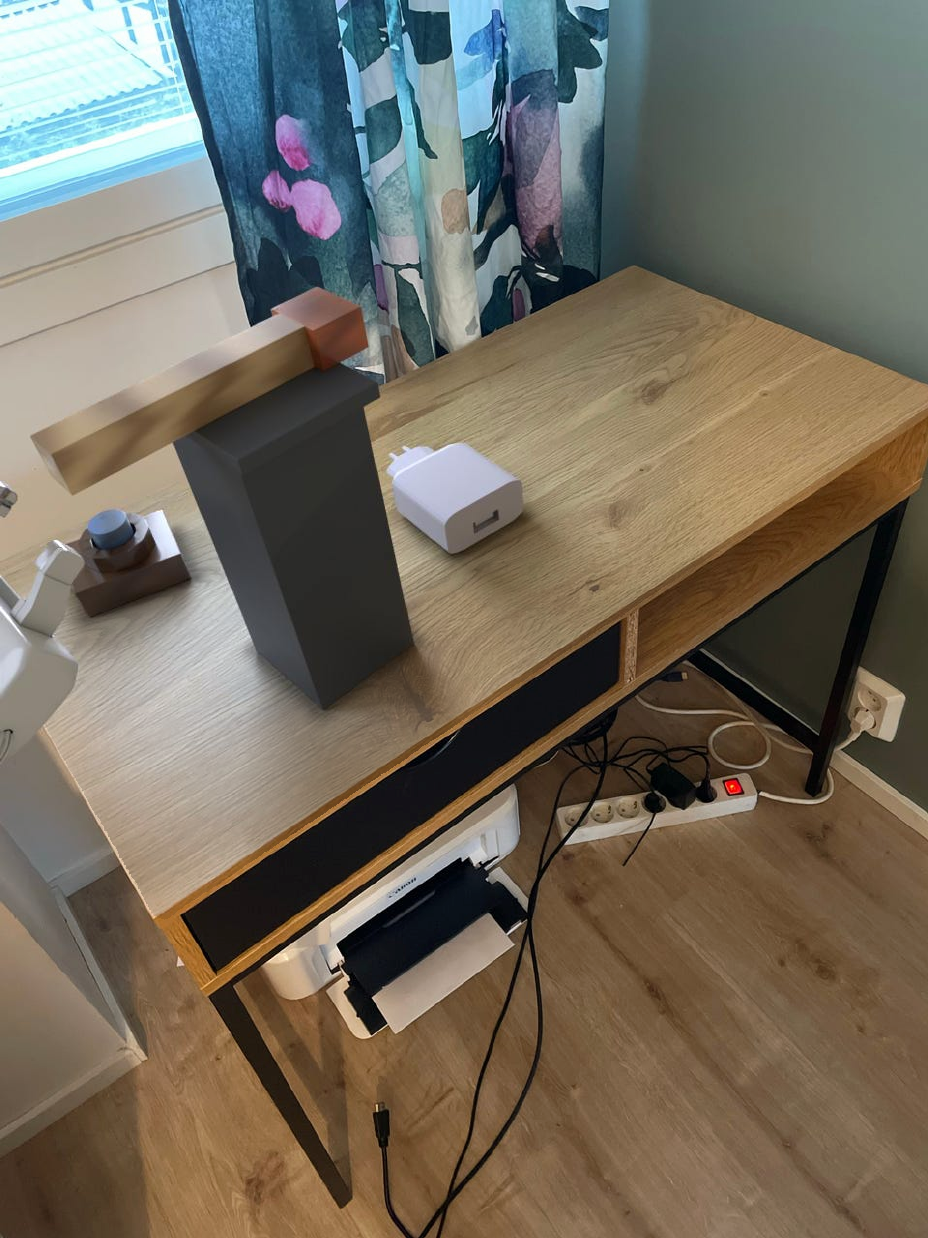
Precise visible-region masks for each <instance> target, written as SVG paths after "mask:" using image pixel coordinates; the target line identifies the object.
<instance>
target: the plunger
mask: <svg viewBox="0 0 928 1238" xmlns="http://www.w3.org/2000/svg"><path fill="white" fill-rule="evenodd" d="M125 513H126V512H124V511H122V510H121V509H114V508H113V509H107V510H103V511H101V512H98V513H97V514H95V515H94V516H93V517H91V518H90V520H89V521H88V523H87V528H88V531H89V533H90V535H91V536H92V538H93V540H94V542H95V544H96V546H97V547H98V548H99V549H101V550H112V549H115V548H117V547H120V546H123V545H124V544H126V543H127V542H128V541H129V540H131V539H132V538H133V535H134V531H133V529H132V527H131V525H130V523H129V521H128V519H127V517H126V514H125ZM87 528H86V529H87Z"/></svg>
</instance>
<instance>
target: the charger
mask: <svg viewBox="0 0 928 1238" xmlns="http://www.w3.org/2000/svg"><path fill="white" fill-rule="evenodd" d="M401 449H402V450H403V451H404V452H403V453H401V454H400V455H398V456H397V455H396V454H395V453H394V452H389V454H388V457H390V459H391V460H393V461H392V462H391V463H390V464H389V466H388V467H387V469H386V471H385V472H386V474H387V475H389V476H391V478H393V479H392V481H391V488H392V493H393V499H394V503H395V508H396V511H397V512H398V513H399V514H401V515H402V516H403V517H404V518H405V519H407V520H408V521H409V522H410V523H411V524H413V525H414V526H415V527H416V528H418V529H419V530H420V531H421V532H422V533H424V534H425V535H426V536H428V538H430V539H431V540H432V541H434V542H435V543H436V544H438V545H439V546H440V547H441V548H442V549H444V550H445V551H446V552H447V553H448V554H451V555H453V554H454V555H455V554H457V553H460V552H462V551H464V550H466V549H467V548H470V547H471V546H473V545H474V544H477V543H478V542H480V541H481V540H483V539H484V538H486V537H488V536H489V535H492V534H493V533H495V532H497V531H498V530H500V529H501V528H504V527H505V526H507V525H508V524H510V523H512V522H513V521H515V520H516V519H517V518H518V517H519V516H520V515H521V514H522V513H523V511H524V497H523V496H524V495H523V493H524V492H523V483H522V481H521V480H520V479H519V478H518V477H516V476H515V475H513V474H511V473H510V472H508V471H507V470H505V469H504V468H503V467H502V466H500V465H498V464H497V463H495V462H493V461H492V460H491V459H489V458H488V457H487V456H485V455H484V454H482V453H480V451H477V450H476V449H474V448H473V447H471V446H470V445H469V444H467V443H465V442H457V443H456V442H455V443H451V444H448V445H446V446H444V447H442V448H440V449H438V450H436V451H435V450H434V449H433V448H431V447H430V446H426V445H425V446H423V445H422V446H414V447H413V448H411V449H410V448H409V447H408V446H407V445H403V446H402V448H401Z"/></svg>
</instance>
